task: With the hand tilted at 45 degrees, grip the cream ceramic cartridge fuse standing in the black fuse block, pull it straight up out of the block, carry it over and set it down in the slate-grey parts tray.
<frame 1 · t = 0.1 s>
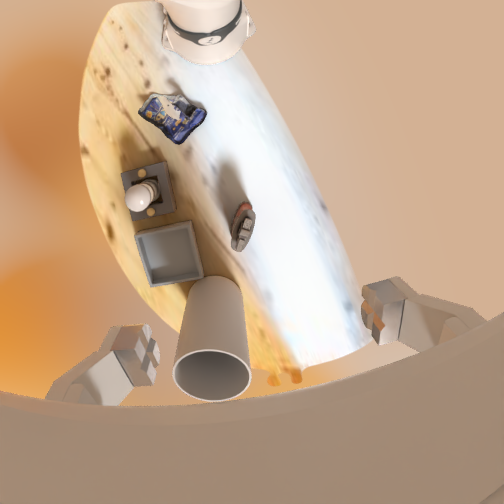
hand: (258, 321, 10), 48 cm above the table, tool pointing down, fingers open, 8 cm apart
snack package: (176, 114, 49), on the table
tray: (171, 252, 59), on the table
cylinder vase: (215, 298, 64), on the table
fuse: (150, 189, 54), resting in fuse block
fuse block: (150, 189, 54), on the table
lighter: (241, 220, 58), on the table
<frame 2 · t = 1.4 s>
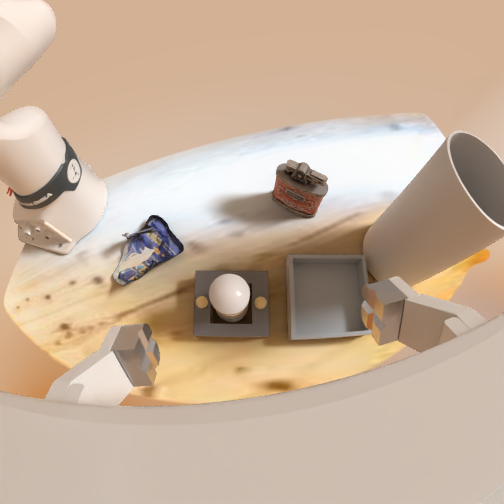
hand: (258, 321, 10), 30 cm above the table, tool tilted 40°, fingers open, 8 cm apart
snack package: (148, 253, 43), on the table
tray: (325, 298, 41), on the table
cylinder vase: (392, 255, 44), on the table
fuse: (231, 306, 40), resting in fuse block
fuse block: (231, 306, 40), on the table
lighter: (293, 204, 47), on the table
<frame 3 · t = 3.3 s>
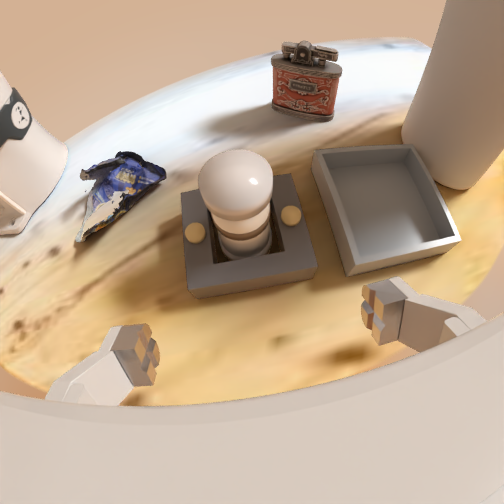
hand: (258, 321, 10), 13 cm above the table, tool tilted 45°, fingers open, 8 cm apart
snack package: (120, 200, 29), on the table
tray: (381, 209, 26), on the table
cylinder vase: (439, 154, 29), on the table
fuse: (246, 241, 26), resting in fuse block
fuse block: (246, 241, 26), on the table
lighter: (302, 111, 33), on the table
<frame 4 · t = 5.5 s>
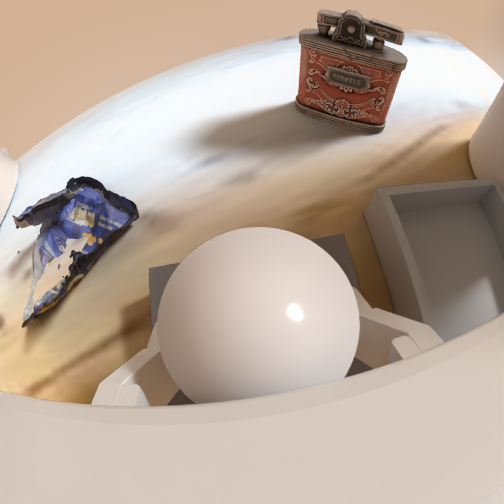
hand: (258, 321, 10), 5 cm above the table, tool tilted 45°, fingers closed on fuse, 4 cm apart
snack package: (77, 252, 18), on the table
tray: (459, 279, 15), on the table
fuse: (263, 348, 15), resting in fuse block, touching gripper
fuse block: (263, 348, 15), on the table
lighter: (339, 116, 22), on the table
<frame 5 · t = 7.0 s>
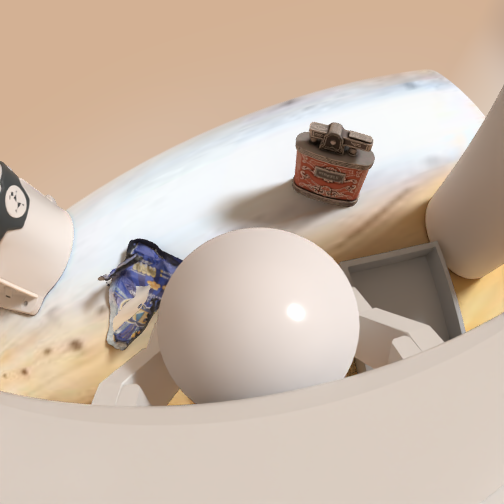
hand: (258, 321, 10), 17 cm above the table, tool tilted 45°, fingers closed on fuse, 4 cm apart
snack package: (143, 294, 29), on the table
tray: (399, 314, 26), on the table
cylinder vase: (460, 235, 29), on the table
fuse: (263, 348, 15), point 12 cm above the table, touching gripper
lighter: (325, 191, 33), on the table
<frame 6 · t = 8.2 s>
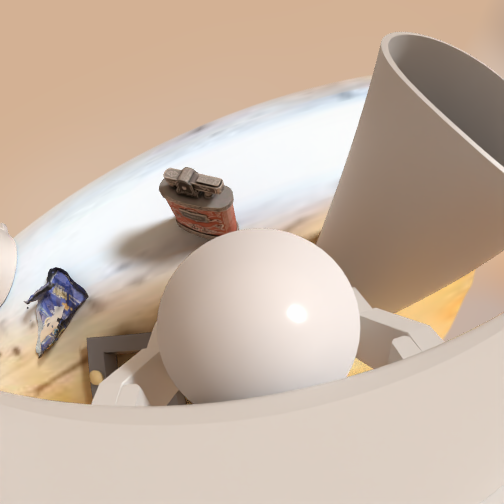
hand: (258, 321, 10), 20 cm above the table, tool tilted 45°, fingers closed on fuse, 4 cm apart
snack package: (60, 313, 31), on the table
cylinder vase: (362, 269, 31), on the table
fuse: (263, 348, 15), point 14 cm above the table, touching gripper
fuse block: (139, 377, 27), on the table
lighter: (207, 226, 34), on the table
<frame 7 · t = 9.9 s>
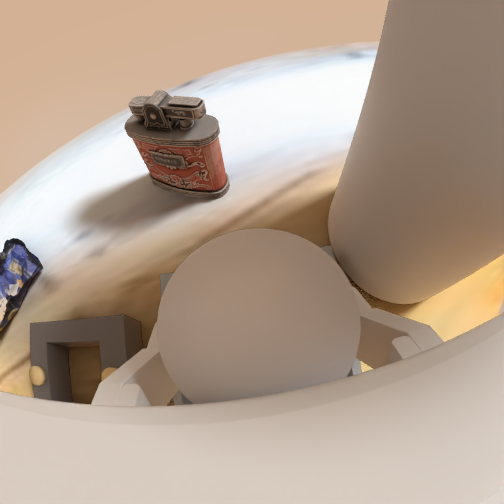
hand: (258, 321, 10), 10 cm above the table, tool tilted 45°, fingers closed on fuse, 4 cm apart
snack package: (15, 293, 23), on the table
tray: (261, 351, 19), on the table
cylinder vase: (392, 236, 23), on the table
fuse: (263, 348, 15), point 5 cm above the table, touching gripper
fuse block: (94, 378, 19), on the table
lighter: (189, 181, 26), on the table
when the fingers open (7 cm above the table, at t = 11.0 s): fuse stays where it is, resting on tray.
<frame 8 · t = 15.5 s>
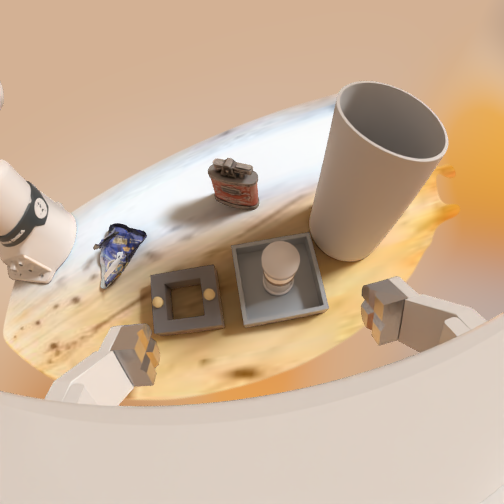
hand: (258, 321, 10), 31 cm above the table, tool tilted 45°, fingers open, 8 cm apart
snack package: (121, 256, 47), on the table
tray: (278, 282, 43), on the table
cylinder vase: (344, 229, 46), on the table
fuse: (277, 281, 43), resting on tray
fuse block: (189, 303, 42), on the table
lighter: (237, 200, 49), on the table
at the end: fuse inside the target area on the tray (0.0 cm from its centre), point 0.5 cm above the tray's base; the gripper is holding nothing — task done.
